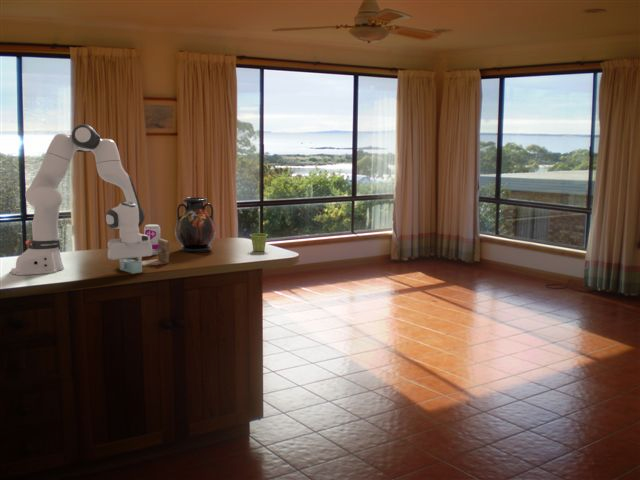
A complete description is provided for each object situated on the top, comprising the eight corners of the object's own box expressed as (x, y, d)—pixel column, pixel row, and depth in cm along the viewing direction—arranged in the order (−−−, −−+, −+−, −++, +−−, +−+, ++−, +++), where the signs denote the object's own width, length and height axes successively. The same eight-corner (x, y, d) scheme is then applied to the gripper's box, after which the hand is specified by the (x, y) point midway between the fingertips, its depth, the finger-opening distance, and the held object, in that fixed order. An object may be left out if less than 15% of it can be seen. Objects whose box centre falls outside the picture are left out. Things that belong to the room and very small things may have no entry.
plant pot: (271, 250, 373) (271, 234, 372) (260, 252, 366) (260, 236, 364) (257, 248, 378) (257, 232, 377) (246, 251, 371) (246, 235, 369)
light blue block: (132, 273, 312) (132, 263, 311) (119, 269, 320) (119, 259, 320) (142, 272, 315) (141, 262, 314) (129, 268, 324) (128, 258, 323)
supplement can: (157, 255, 355) (156, 226, 353) (142, 254, 357) (141, 226, 355) (163, 252, 363) (162, 224, 361) (149, 252, 365) (148, 223, 363)
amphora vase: (176, 254, 358) (174, 200, 354) (174, 247, 379) (173, 196, 374) (217, 253, 363) (217, 200, 359) (214, 246, 384) (213, 196, 379)
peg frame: (134, 267, 326) (134, 244, 324) (128, 264, 333) (127, 241, 331) (169, 263, 335) (168, 241, 334) (161, 260, 343) (161, 238, 341)
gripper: (109, 240, 307) (110, 271, 309) (153, 236, 319) (154, 266, 321) (104, 238, 312) (106, 268, 314) (148, 234, 324) (149, 263, 326)
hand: (130, 267), depth 318 cm, fingers closed on light blue block, 5 cm apart
